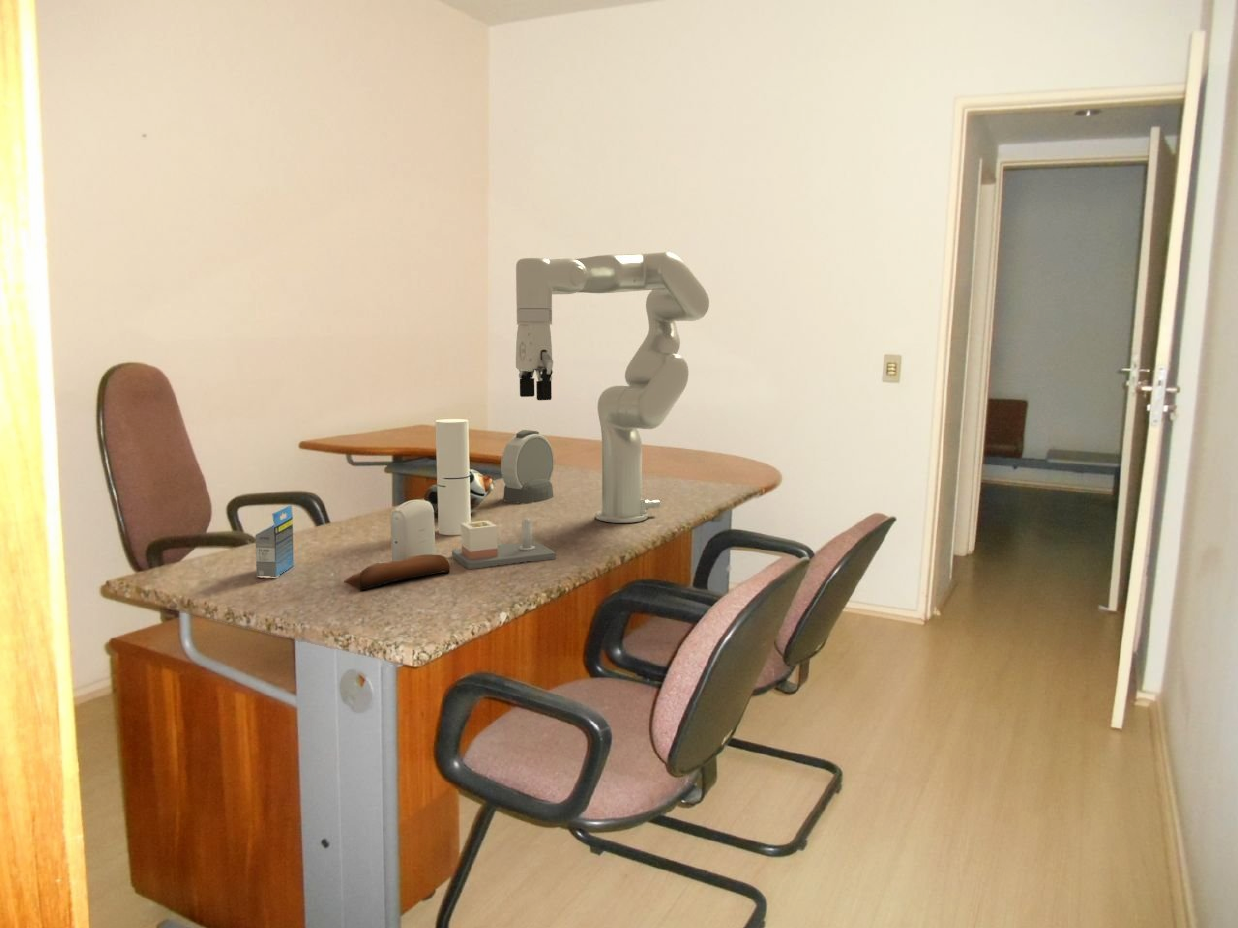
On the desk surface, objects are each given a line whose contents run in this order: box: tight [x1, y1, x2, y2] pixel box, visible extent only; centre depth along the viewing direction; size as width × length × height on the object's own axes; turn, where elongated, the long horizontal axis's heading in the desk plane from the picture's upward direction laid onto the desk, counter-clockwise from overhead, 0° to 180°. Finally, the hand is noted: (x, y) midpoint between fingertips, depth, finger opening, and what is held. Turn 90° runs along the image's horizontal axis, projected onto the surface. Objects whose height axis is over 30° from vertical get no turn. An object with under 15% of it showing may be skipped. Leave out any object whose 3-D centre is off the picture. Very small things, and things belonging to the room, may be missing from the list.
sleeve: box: [460, 520, 499, 559], centre depth 182 cm, size 6×6×6 cm
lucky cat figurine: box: [422, 468, 495, 514], centre depth 226 cm, size 15×12×14 cm
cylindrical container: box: [435, 418, 472, 536], centre depth 205 cm, size 7×7×25 cm
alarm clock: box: [500, 429, 555, 504], centre depth 244 cm, size 16×10×18 cm, turn 144°
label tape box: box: [254, 504, 295, 577], centre depth 173 cm, size 9×4×12 cm, turn 178°
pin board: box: [451, 517, 557, 570], centre depth 184 cm, size 18×11×8 cm, turn 117°
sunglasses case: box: [343, 554, 451, 592], centre depth 170 cm, size 18×7×7 cm, turn 131°
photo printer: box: [389, 499, 436, 561], centre depth 180 cm, size 10×4×12 cm, turn 156°
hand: (535, 398), depth 199 cm, fingers open, 9 cm apart
